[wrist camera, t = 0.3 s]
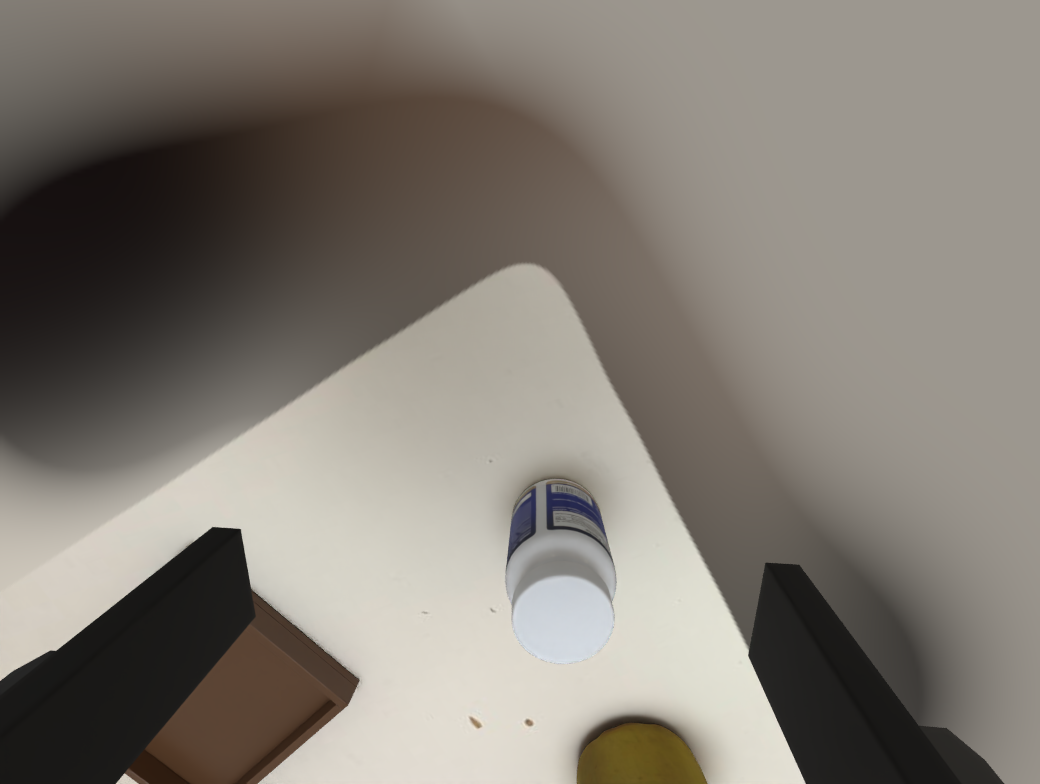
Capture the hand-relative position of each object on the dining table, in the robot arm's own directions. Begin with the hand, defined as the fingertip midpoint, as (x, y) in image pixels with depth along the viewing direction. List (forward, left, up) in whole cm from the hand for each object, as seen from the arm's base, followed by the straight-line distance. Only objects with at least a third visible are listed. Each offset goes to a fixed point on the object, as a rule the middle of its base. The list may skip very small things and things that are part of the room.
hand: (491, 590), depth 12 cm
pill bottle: (+4, +7, -18) cm, 20 cm away
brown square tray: (+32, -1, -18) cm, 36 cm away
